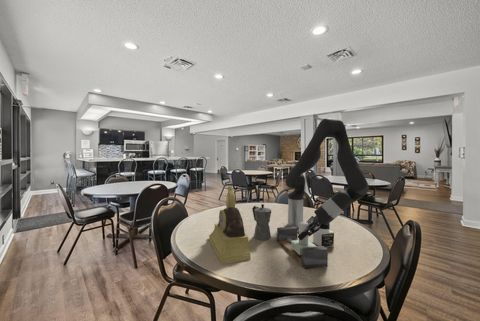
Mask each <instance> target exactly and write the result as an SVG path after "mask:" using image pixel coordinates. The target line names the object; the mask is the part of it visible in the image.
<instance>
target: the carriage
mask: <svg viewBox="0 0 480 321" xmlns="http://www.w3.org/2000/svg"><path fill="white" fill-rule="evenodd" d="M306 222H307V221H303V222H299V228H298V231H299V234H300V233H302V232H303V231H304V230H305V229H306V228H307V225H308V223H306ZM310 247H318V245H316V244H315V243H313V242H311V241H310V240H309V236H308V235H307V236H306V237H305V238H304V239H302V240H300V239H299V238H298V240H293V241H291V248H293V249H294V250H295V251H296V252H297V253H298V254H299V255H302V248H310Z"/></svg>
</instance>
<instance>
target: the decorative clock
mask: <svg viewBox="0 0 480 321" xmlns="http://www.w3.org/2000/svg"><path fill="white" fill-rule="evenodd" d="M227 191H228V192H227V193H226V201H225V208H224V209H219V214H218V223H214V229H213V230H212V232H211V233H210V234H208V235H209V236H208V240H210V241H209V242H210V243H211V245H212V247H213V249H214V251H215V255H217V259H218V260H219V263H220V264H221V265H224V264H230V263H231V264H232V263H236V262H243V261H249V260H251V259H252V258H251V257H252V255H251V251H250V247H249V246H250V245H249V236H248V235H247V234H246V233H245V232H246V231H245V226H244V221H243V217H242V215H241V212H240V210H239V208H237V207H236V194H235V191H234V188H233V186H232V185H229V186H227Z"/></svg>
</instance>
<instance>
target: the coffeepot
mask: <svg viewBox="0 0 480 321" xmlns="http://www.w3.org/2000/svg"><path fill="white" fill-rule="evenodd" d="M260 205H261V207H260V206H256V205H254V206H253V207H252V209H251V210H252V216H253V219H254V221H255V223H256V224H255V228H254V234H253V237H254V239H256V240H259V241H267V240H270V239H271V238H272V235H271V234H272V233H271V229H270V225H269V224H270V222H271V215H272V209H270V208H268V207H265V204H263V203H261V204H260Z"/></svg>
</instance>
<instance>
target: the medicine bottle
mask: <svg viewBox="0 0 480 321" xmlns="http://www.w3.org/2000/svg"><path fill="white" fill-rule="evenodd" d="M319 228H320V229H319V230H318V231H317V232H315V233H314V234H312V243H313V244H314V245H316V246H317V247H319V246H324V247H325V248H331V247H334V246H335V232H334V231H332V230H331V222H330V223H329V224H328V225H325V224H324V223H322V224H321V225H320V227H319Z"/></svg>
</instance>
